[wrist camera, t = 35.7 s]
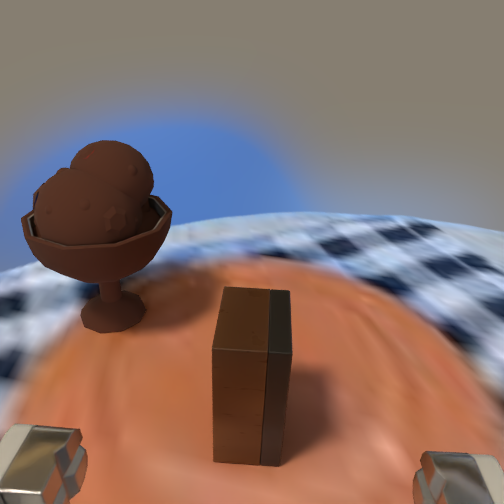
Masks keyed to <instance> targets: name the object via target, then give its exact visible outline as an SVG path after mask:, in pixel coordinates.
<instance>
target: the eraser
mask: <svg viewBox="0 0 504 504" xmlns="http://www.w3.org/2000/svg"><path fill="white" fill-rule="evenodd" d="M291 363H292V329H291V303H290V291H288V290H270V289H258V288H242V287H226V286H225V287H224V290H223V295H222V300H221V305H220V310H219V315H218V320H217V325H216V330H215V335H214V340H213V345H212V400H213V461H214V462H225V463H238V464H252V465H267V466H280V461H281V452H282V443H283V434H284V425H285V416H286V407H287V398H288V390H289V381H290V372H291Z"/></svg>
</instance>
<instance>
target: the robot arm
mask: <svg viewBox="0 0 504 504" xmlns="http://www.w3.org/2000/svg"><path fill="white" fill-rule="evenodd" d="M82 438H83V437H82V434H81V431H80V429H76V428H64V427H51V426H39V425H28V424H14V425H13V426H12V427H11V428H10V429H9V430H8V431H7V432H6V434H5V435H4V437H3V438H2V440H1V442H0V504H70V502H69V500H70V499H71V498H73V497H74V496H75V495H76V494H77V493H78V492H80V489H81V487H82V484H83V482H84V479H85V475H86V470H87V466H88V456H87V452H86V449H84V448H83V447H82V446H81V445H80V443H81V441H82ZM420 462H421V465H422V468H421V469H420V470H418V471H417V472H415V476H414V479H413V499H414V504H504V473H503V471H502V468H501V466H500V464H499V462H498V460H497V459H496V458H495V457H494V456H492V455H482V454H468V453H456V452H436V451H425V452H424V453H423V454H422V456H421V459H420Z"/></svg>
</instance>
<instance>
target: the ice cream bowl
mask: <svg viewBox="0 0 504 504" xmlns="http://www.w3.org/2000/svg"><path fill="white" fill-rule="evenodd" d="M153 187H154V180H153V173H152V171H151V169H150V166H149V163H148V162H147V161H146V159H145V158H144V157H143V156H142V154H141V153H140V152H138V151H137V150H136V149H134V148H132V147H131V146H130V145H127V144H124V143H121V142H118V141H107V140H102V141H98V142H94V143H91V144H88V145H87V146H85V147H84V148H83V149H81V150H80V151H79V152H78V153H77V154H76V156H75V157H74V158H73V160H72V161H71V165H70V169H69V168H61V169H59V170H58V171H57V173H56V174H55V175H54V176H52V177H51V178H49V179H48V180H47V181H46V183H43V184H42V185H41V186H40V188H39V189H38V190H37V191H36V192H35V193H34V194H33V195H34V196H33V210H32V211H31V212H29V213H28V214H26V215H25V216H23V217H22V218H21V222H22V227H23V232H24V236H25V239H26V241H27V243H28V245H29V247H30V249H31V251H32V253H33V255H34V256H35V257H36V258H37V259H38V260H39V261H40V262H41V263H42V264H43V265H44V266H45V267H47V268H49V269H51V270H53V271H56V272H58V273H60V274H62V275H65V276H68V277H71V278H74V279H77V280H80V281H83V282H86V283H99V288H100V295H98V296H96V297H94V298H92V299H90V300H89V301H88V303H87V304H86V305H85V306H84V308H83V309H82V311H81V318H82V321H83V324H84V327H86V328H89V329H91V330H94V331H96V332H99V333H107V332H118V331H123V330H125V329H127V328H129V327H131V326H133V325H135V324H137V323H138V322H140V320H141V319H142V317H143V315H144V313H145V311H146V308H145V306H144V304H143V302H142V300H141V298H140V297H139V295H136V294H133V293H130V292H127V291H121V286H120V279H122V278H124V277H126V276H129V275H131V274H133V273H135V272H137V271H139V270H141V269H143V268H144V267H145V266H146V265H147V264H148V263H149V262H150V261H151V260H153V258H154V256H155V255H156V253H157V252H158V250H159V249H160V247H161V246H162V244H163V242H164V240H165V238H166V236H167V234H168V231H169V229H170V224H171V218H172V211H171V210H170V208H169V207H168V206H167V205H166V204H165V203H164V202H163V201H162V200H161V199H160V198H159V197H158V196H154V195H150V193H151V191H152V189H153Z"/></svg>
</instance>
